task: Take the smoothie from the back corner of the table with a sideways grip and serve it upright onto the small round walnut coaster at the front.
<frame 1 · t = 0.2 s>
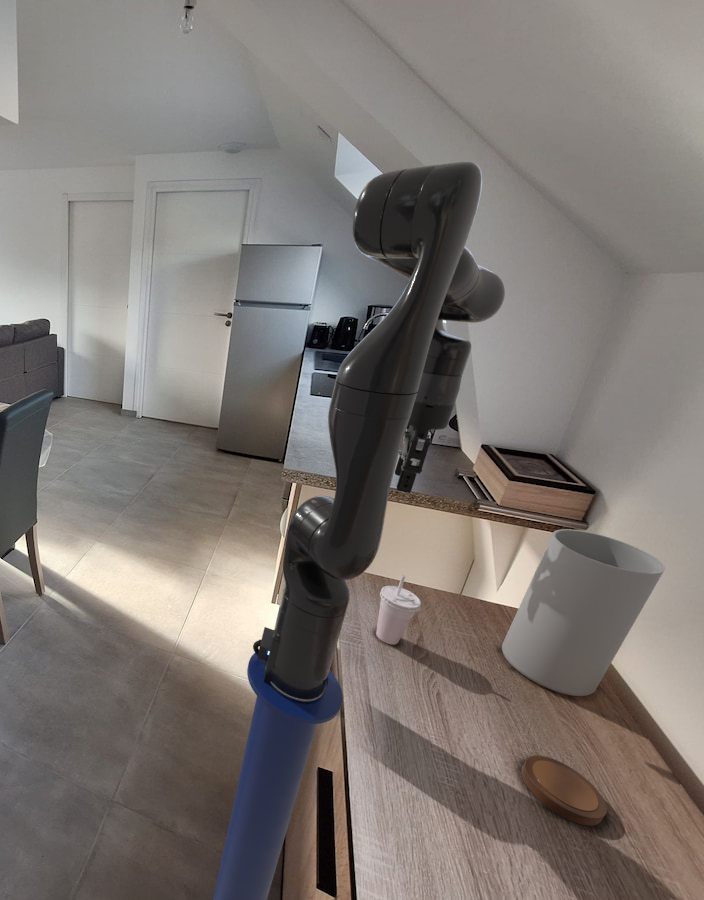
hand: (401, 483, 84), 29 cm above the sideboard, tool pointing down, fingers open, 8 cm apart
smoothie: (386, 638, 87), on the sideboard
coaster: (559, 792, 61), on the sideboard
cylinder vase: (544, 669, 81), on the sideboard
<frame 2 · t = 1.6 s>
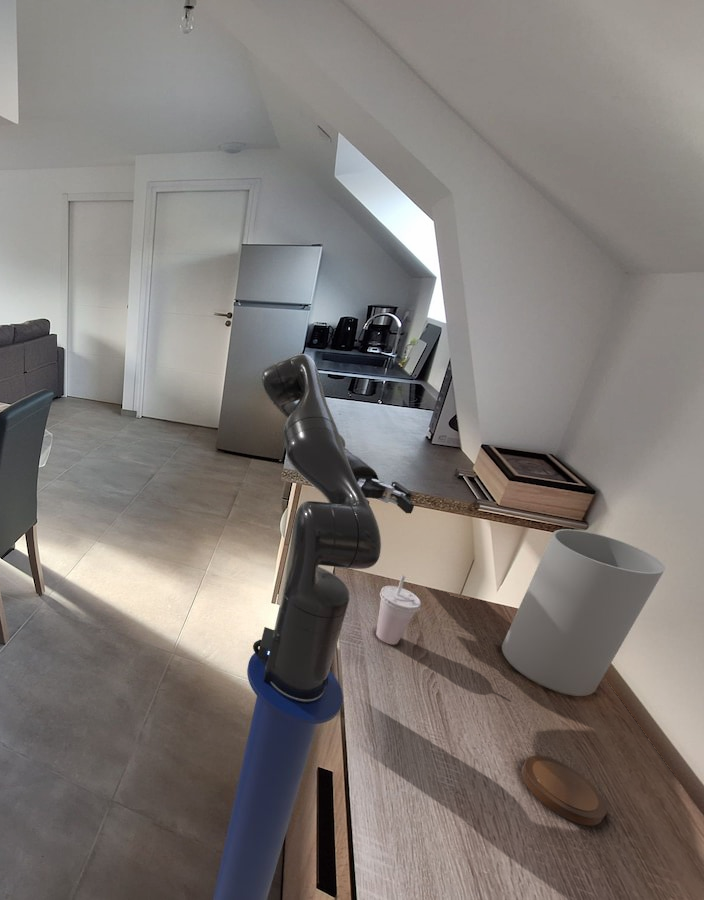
hand: (388, 508, 89), 22 cm above the sideboard, tool horizontal, fingers open, 8 cm apart
nothing on the sideboard moved.
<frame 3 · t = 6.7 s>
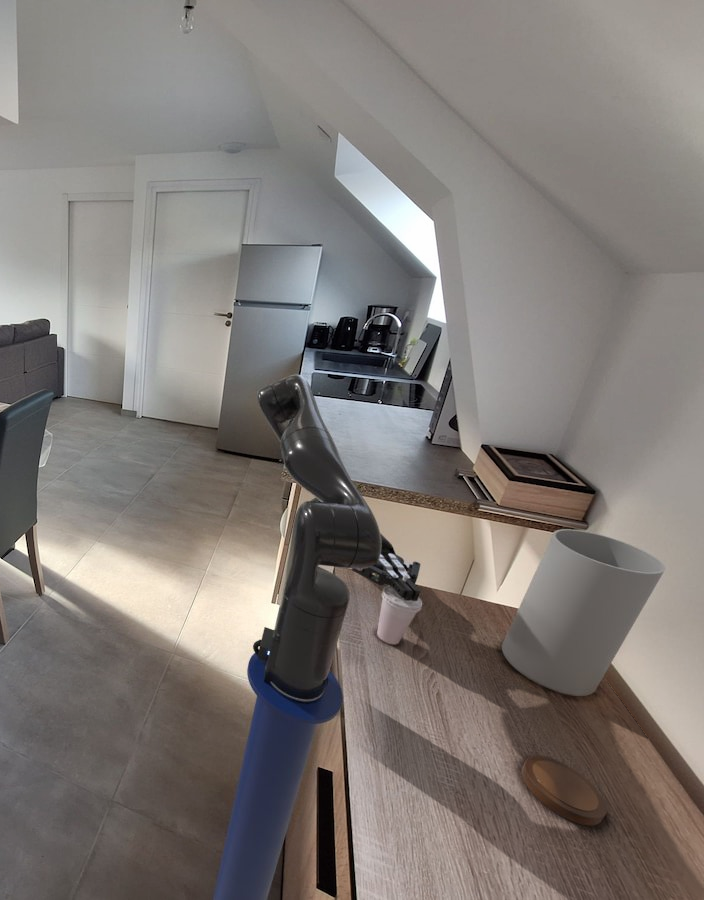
hand: (412, 596, 80), 12 cm above the sideboard, tool horizontal, fingers closed on smoothie
smoothie: (387, 638, 87), on the sideboard, touching gripper
everything else where it was.
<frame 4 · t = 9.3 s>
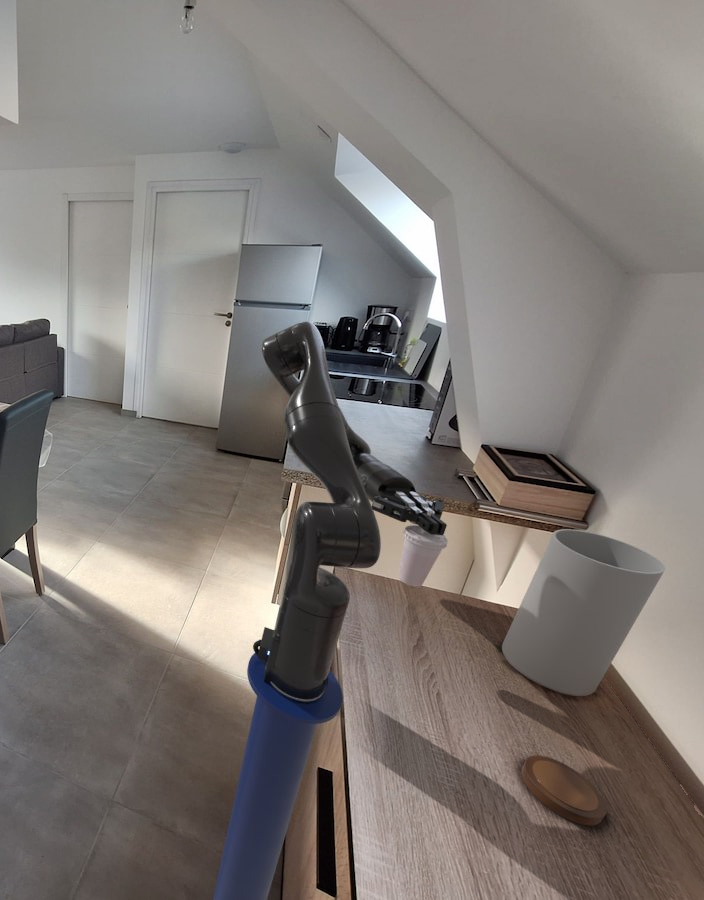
hand: (438, 530, 75), 26 cm above the sideboard, tool horizontal, fingers closed on smoothie
smoothie: (409, 581, 82), point 13 cm above the sideboard, touching gripper
everything else where it was.
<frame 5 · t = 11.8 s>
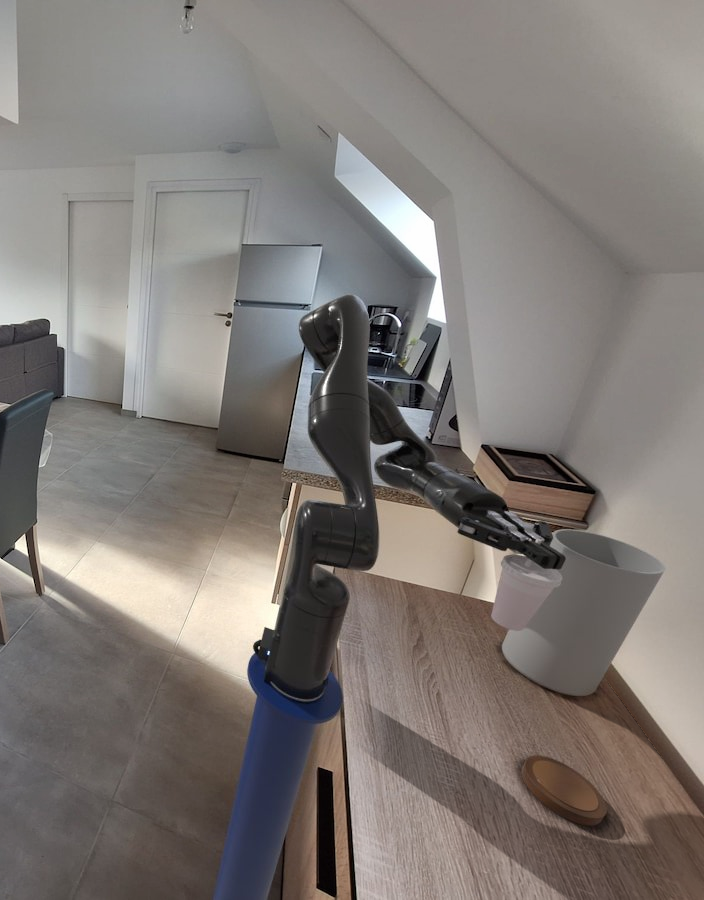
hand: (555, 563, 59), 30 cm above the sideboard, tool horizontal, fingers closed on smoothie
smoothie: (506, 622, 67), point 17 cm above the sideboard, touching gripper
everything else where it was.
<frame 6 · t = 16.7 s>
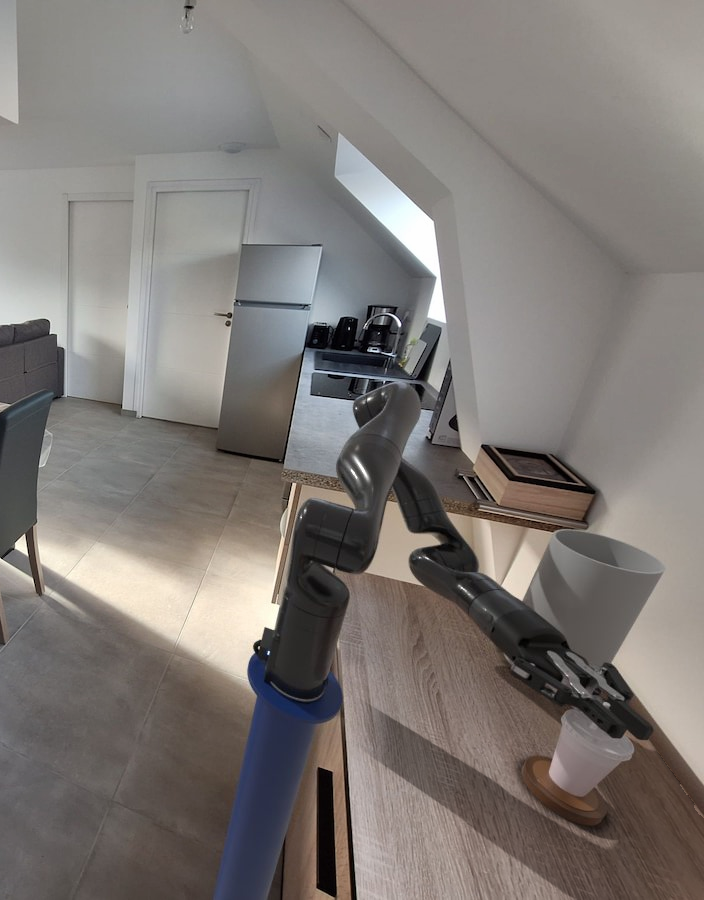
hand: (633, 733, 53), 15 cm above the sideboard, tool horizontal, fingers closed
smoothie: (566, 783, 61), point 1 cm above the sideboard, touching coaster
everything else where it was.
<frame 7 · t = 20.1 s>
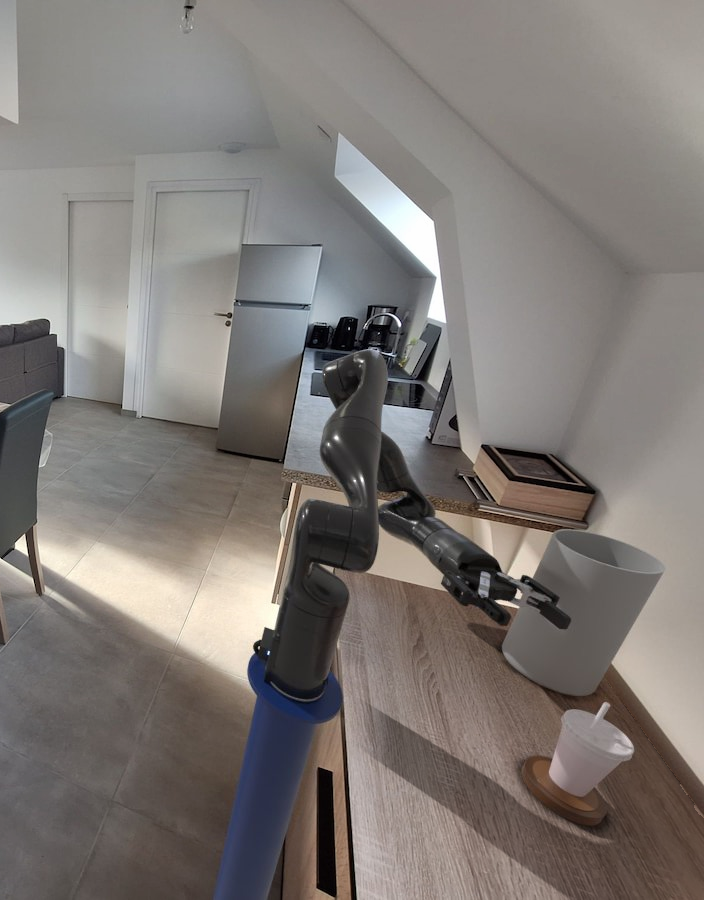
hand: (536, 623, 65), 18 cm above the sideboard, tool horizontal, fingers open, 8 cm apart
nothing on the sideboard moved.
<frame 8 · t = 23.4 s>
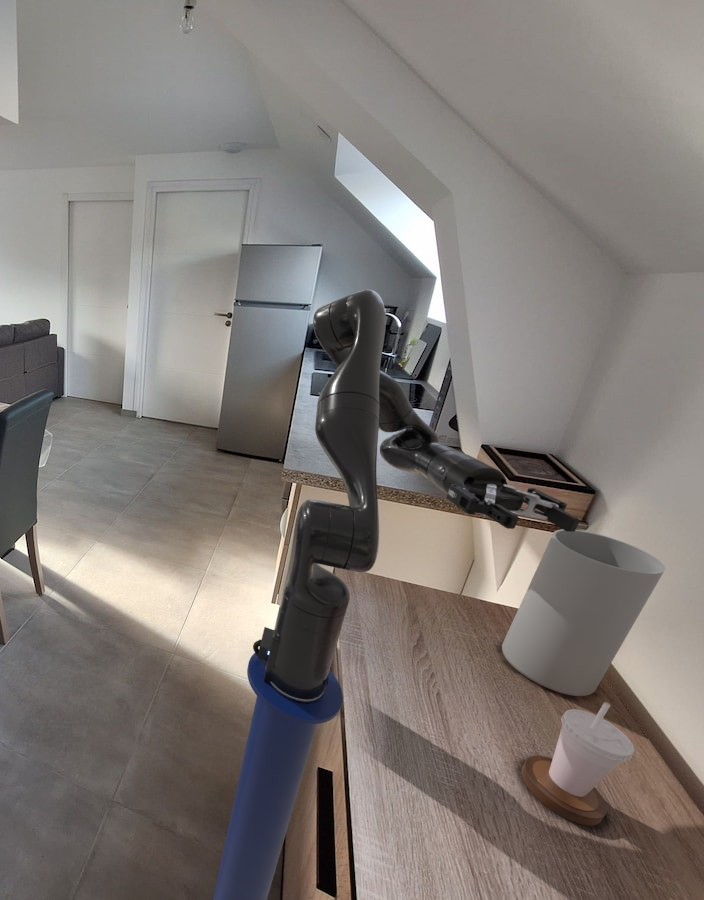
hand: (544, 524, 64), 32 cm above the sideboard, tool horizontal, fingers open, 8 cm apart
nothing on the sideboard moved.
at the end: smoothie 0.8 cm off-centre on the coaster, point 1.4 cm above the coaster's base; smoothie tilted 0°; the gripper is holding nothing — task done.
